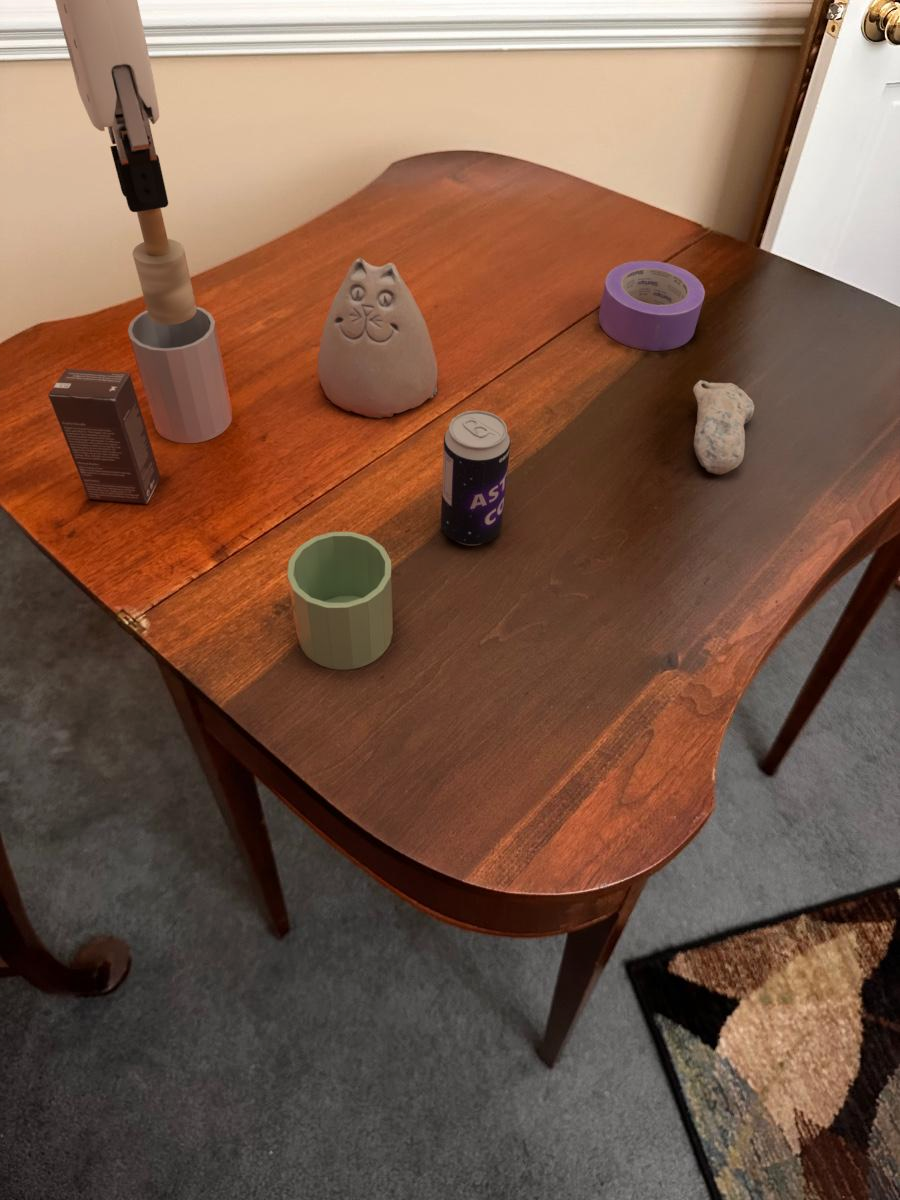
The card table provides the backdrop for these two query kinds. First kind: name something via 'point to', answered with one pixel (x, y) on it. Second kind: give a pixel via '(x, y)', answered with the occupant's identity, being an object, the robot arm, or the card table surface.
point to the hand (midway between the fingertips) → (145, 199)
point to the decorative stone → (721, 425)
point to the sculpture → (376, 345)
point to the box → (106, 435)
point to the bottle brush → (163, 272)
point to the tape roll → (650, 305)
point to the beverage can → (474, 477)
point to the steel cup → (182, 376)
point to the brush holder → (342, 599)
